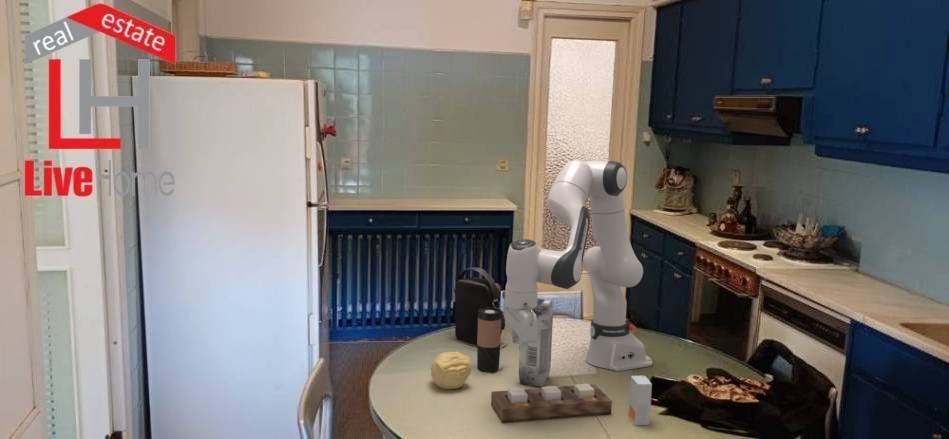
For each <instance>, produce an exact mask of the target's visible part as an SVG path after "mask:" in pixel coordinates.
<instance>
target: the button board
mask: <svg viewBox="0 0 949 439" xmlns="http://www.w3.org/2000/svg"><path fill="white" fill-rule="evenodd" d="M589 385H590V386H591V387H592V388H593V389H594V397H592V398H582V399H578V398H577V397H576V396H575V395H574V385H569V386H567V385H565V386H564V385H563V386H556V387H557V388H558V389H559V390H560V391H561V400H553V401H544V400H543V399H542V397H541V388H542V387H536V388H525V389H524V388H523V389H524V391H525V392H526V393H527V395H528V396H527V403H516V404H510V402H509V401H508V390H496V391H491V393H490V394H491V397H490V405H491V407H492V409H493V411H494V412H495V414H496V416H497V417H498V419H499V420H500V423H501V424H510V423H511V424H512V423H521V422H522V423H523V422H532V421H533V422H534V421H536V422H537V421H545V420H558V419H568V418H571V419H572V418H581V417H582V418H583V417H593V416H605V415H607V416H608V415H612V407H613V400H612V399H610V397H608V395H607V394H606V393H605V392H604V391H602V389H601V388H599V386H598V385H597V384H596V383H595V384H593V383H592V384H589Z"/></svg>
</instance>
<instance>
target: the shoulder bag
mask: <svg viewBox="0 0 949 439" xmlns="http://www.w3.org/2000/svg"><path fill="white" fill-rule="evenodd" d="M469 271H475V272H477V273H479V274H480V275H481V276H483V277H484V278H485V279H484V278H480V277H475V276H474V277H471V276H470V277H466V278H465V275H466V274H467V272H469ZM453 292H454V294H455V300H453V302H452V317H453V318H454V326H455V328H454V333H453V334H449V335H448V336H445V337H444V338H445V339H447V340H451V341H454V342H458V343H463V344H465V345H470V346H473V347H475V348H477V335H478V310H479V309H480V308H481V309H486V308H487V307H494V308H498V309H500V310H501V298H502V286H501V285H500V284H499V283H496V282H495V280H494V279H493V277H492V276H491V274H489V273H488V272H487V271H486V270H485V269H483V268H481V267H476V266H474V267H471V266H470V267H468V268H465V269H463V270H462V271H461V272H460V273H459V276H458V278H457V281H456V283H455V286H454V287H453ZM505 329H506V321H505V318H504V310H501V335H502V334H503V331H504V330H505ZM502 330H503V331H502ZM506 346H507V344H506V343H503V342H501V344H500V349H501V348H503V347H506Z"/></svg>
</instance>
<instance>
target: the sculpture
mask: <svg viewBox="0 0 949 439" xmlns="http://www.w3.org/2000/svg"><path fill="white" fill-rule="evenodd" d="M471 368H472V362H471V358H470V356H468V355H465V354H464V353H461V352H459V351H458V350H457V351H446V352H445V351H444V352H441V353H440V354H438V355H437V356H436V357H435V358H434V359H433V360H432V363H431V367H430V375H431V378H432V380H433V383H434V384H435V385H436V386H437V387H439V388H440V389H444V390H455V389H459V388H461V387H463V385H464V384H465V383H466V381H467V380H468V378H469V376H470V375H471V372H472V370H471Z"/></svg>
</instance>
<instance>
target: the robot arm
mask: <svg viewBox="0 0 949 439" xmlns="http://www.w3.org/2000/svg"><path fill="white" fill-rule="evenodd" d="M627 182H628V172H627V169H626V168H625V166H624V165H623V164H622V163H621V162H618V161H613V160H609V161H606V160H595V159H594V160H587V161H582V160H580V159H579V160H578V159H574V160H570V161H567V162H566V163H565V164H564V166H563V167H562V168H561V169H560V171H559V173H558V174H557V176H556V178H555V179H554V181H553V184H552V186H551V187H550V190H549V192H548V196H547V200H546V201H547V208H548V209H549V211H550V213H551V214H552V215H553V216H554V217H555V218H556V219H557V220H559V221H561V222H562V223H564V224H566V225H568V226H569V227H571V229H570V233H569V238H568V243H567V247H566V249H563V250H560V251H558V250H554V249H553V250H552V249H547V248H543V247H540V246H538V243H537V242H536V241H535V240H532V239H528V238H522V239H516V240H514V241H513V242H511V243H510V244H509V247H508V250H507V254H506V256H507V257H506V266H505V274H506V275H505V276H506V277H507V278H506V284H505V290H501V298H502V299H503V316H504V318H505V323H506V324H507V325H508V326H510V331H511V336H512V339H511V340H512V342H511V343H513V344H514V345H518V344H519V345H518V346H519V348H518V351H519V350H520V351H521V352H526V351H527V345H528V343H529V342H536V340H537V316H536V314H535V313H534V312H533V309H532V308H535V307H536V306H537V299H538V292H539V291H538V289H539V287H538V283H540V284H543V285H544V284H545V285H550V286H554V287H558V288H561V289H564V290H568V289H571V288H572V287H574V286H575V285H577V284H578V283H579V282H580V281H581V278H582V274H583V273H582V272H583V266H584V269H585V270H586V272H587V275H588V277H589V282H590V287H591V292H592V319H591V320H590V329H589V330H590V340H589V346H588V351H587V353H586V356H585V362H587V363H588V364H590V365H591V366H594V367H598V368H602V369H608V370H611V371H615V372H621V371H627V370H633V369H640V368H641V369H642V368H646V367H651V366H653V360H652V358H650V356H648V355H647V352H646V348H645V344H644V343H643V342H642V341H641V340H639V339H638V337H636V336H635V335H633V333H631V332H635V331H636V329H637V328H636V326H635V325H633V324H630V323H629V322H627V321H626V319H627V318H626V317H627V306H628V305H627V299H626V297H625V294H624V293H623V289H622V288H633V287H635V286H637V285H638V284H639V283H640V282H641V280H642V278H643V274H644V267H643V265H642V263H641V261H640V260H639V259H638V257H637V256H636V254H635V252H634V249H633V247H632V244H631V240H630V239H629V234H628V230H627V220H626V206H625V199H624V193H623V191H624V190H625V188H626V186H627ZM588 196H589V197H590V210H589V209H588V207H587V206H586V201H587V199H588ZM590 216H591V217H590ZM590 219H591V221H590ZM590 222H591V223H590ZM590 224H591V228H592V229H591V230H592V235H593V237H594V238H595V240H596V241H597V243H598V246H592V247H590V248H588V249H587V250H586V246H587V245H586V244H587V239H588V234H589V228H590ZM585 250H586V251H585ZM520 340H521V343H520Z"/></svg>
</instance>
